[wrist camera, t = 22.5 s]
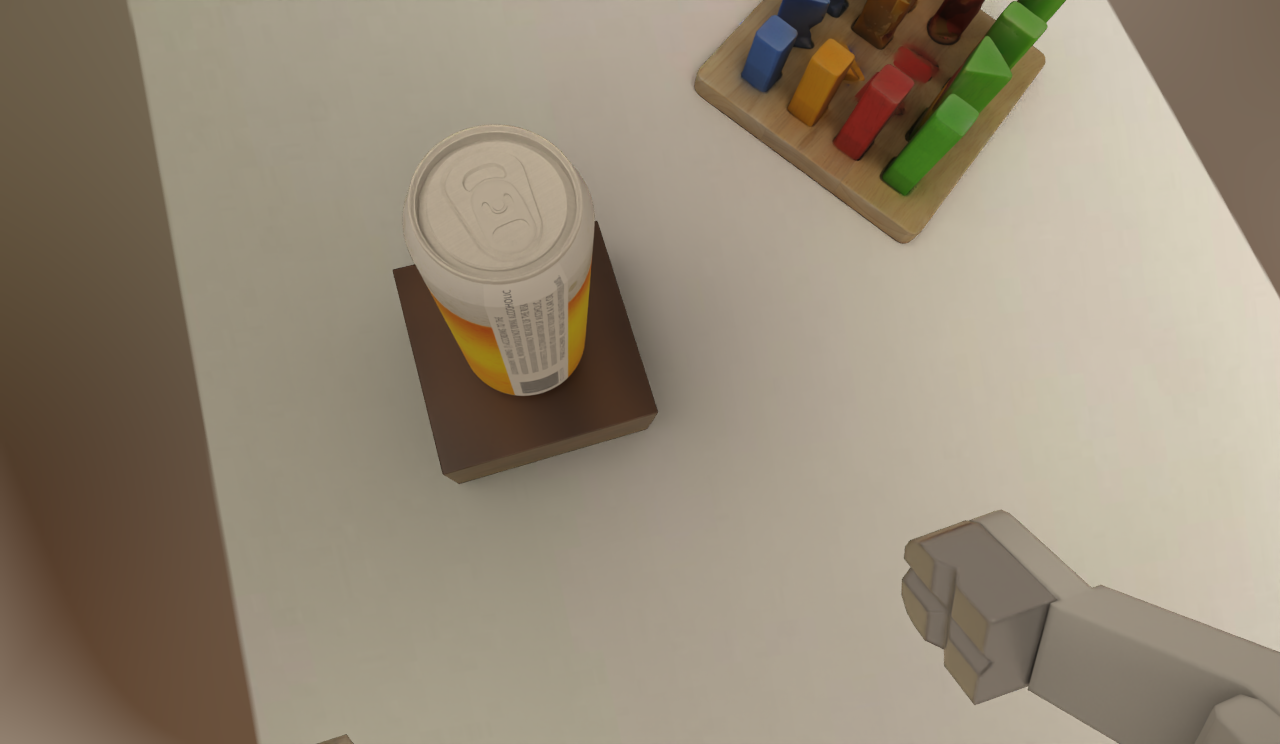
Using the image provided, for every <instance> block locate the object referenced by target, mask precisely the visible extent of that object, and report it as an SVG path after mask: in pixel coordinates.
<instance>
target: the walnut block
mask: <svg viewBox="0 0 1280 744" xmlns="http://www.w3.org/2000/svg"><path fill="white" fill-rule="evenodd" d="M393 274H394V278H395V282H396V286H397V290H398V294H399V298H400V302H401V306H402V310H403V315H404V319H405V323H406V327H407V331H408V335H409V339H410V343H411V347H412V351H413V355H414V359H415V363H416V367H417V371H418V375H419V379H420V383H421V388H422V392H423V396H424V400H425V404H426V408H427V412H428V416H429V420H430V424H431V428H432V432H433V436H434V440H435V444H436V448H437V452H438V457H439V461H440V465H441V469H442V473H443V475H445V476H447V477H448V478H450V479H452V480H453V481H455V482H457V483H458V484H460V483H464V482H467V481H471V480H474V479H478V478H481V477H484V476H488V475H491V474H495V473H498V472H501V471H505V470H508V469H512V468H515V467H519V466H522V465H525V464H529V463H532V462H536V461H539V460H542V459H546V458H549V457H553V456H556V455H560V454H563V453H566V452H570V451H573V450H577V449H580V448H583V447H587V446H590V445H594V444H597V443H601V442H604V441H607V440H611V439H614V438H618V437H621V436H624V435H628V434H631V433H635V432H638V431H642V430H645V429H647V428H648V427H649V425H650V424H651V422H652V421H653V419H654V418H655V416H656V415H657V413H658V410H657V407H656V404H655V401H654V398H653V395H652V391H651V388H650V385H649V382H648V379H647V376H646V373H645V369H644V366H643V363H642V360H641V357H640V354H639V351H638V347H637V344H636V341H635V338H634V335H633V332H632V328H631V325H630V322H629V319H628V316H627V313H626V310H625V306H624V303H623V300H622V297H621V294H620V291H619V288H618V284H617V281H616V278H615V275H614V272H613V269H612V266H611V262H610V259H609V256H608V253H607V250H606V247H605V243H604V240H603V237H602V234H601V231H600V228H599V225H598V222H597V221H595V226H594V239H593V251H592V263H591V276H590V288H589V300H588V313H587V325H586V337H585V346H584V351H583V354H582V357H581V360H580V362H579V364H578V365H577V367H576V369H575V370H574V371H573V373H572V374H571V375H570V376H569V377H568V378H567V379H566V380H565V381H564V382H562V383H561V384H560V385H558V386H557V387H555V388H553V389H551V390H549V391H546V392H544V393H540V394H536V395H530V396H518V395H511V394H506V393H503V392H500V391H498V390H495V389H493V388H492V387H490V386H488V385H487V384H486V383H484V382H483V381H482V380H481V379H480V378H479V377H478V376H477V375H476V374H475V373H474V372H473V370H472V369H471V367H470V365H469V364H468V362H467V360H466V358H465V356H464V354H463V353H462V351H461V349H460V347H459V345H458V343H457V341H456V339H455V338H454V336H453V334H452V332H451V330H450V328H449V326H448V325H447V323H446V321H445V319H444V317H443V315H442V313H441V311H440V310H439V308H438V306H437V304H436V302H435V300H434V298H433V297H432V295H431V293H430V291H429V289H428V287H427V285H426V283H425V282H424V280H423V278H422V276H421V274H420V272H419V270H418V269H417V267H416V265H415V264H414V265H410V266H406V267H402V268H397V269H394V270H393Z"/></svg>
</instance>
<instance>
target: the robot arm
mask: <svg viewBox="0 0 1280 744" xmlns="http://www.w3.org/2000/svg"><path fill="white" fill-rule="evenodd" d="M904 559H905V561H906V562H907V563H908V564H909V566H910V567H911V568H910V569H909V570H908V572H907V573H906V574H905V576H904V577H903V579H902V593H901V595H902V598H903V601H904V605H905V608H906V611H907V614H908V615H909V617H910V619H911V621H912V623H913V625H914V626H915V628H916V629H917V630H918V632H919V633H920V634H921V636H922V637H923V639H924V640H925V641H927V642H929V643H932V644H934V645H936V646H938V647H940V648H942V649H944V666H945V668H946V669H947V670H948V671H949V673H950V674H951V675H952V677H953V678H954V679H955V680H956V682H957V683H958V684H959V686H960V687H961V688H962V690H963V691H964V692H965V693H966V695H967V696H968V697H969V699H970V700H971V701H972V703H973V704H974V705H976V704H979V703H982V702H985V701H988V700H990V699H993V698H996V697H999V696H1002V695H1004V694H1007V693H1010V692H1013V691H1016V690H1019V689H1021V688H1024V687H1027V686H1029V687H1028V690H1029V691H1031V692H1033V693H1034V694H1036V695H1038V696H1039V697H1041V698H1043V699H1044V700H1046V701H1048V702H1050V703H1051V704H1053V705H1055V706H1056V707H1058V708H1060V709H1061V710H1063V711H1065V712H1066V713H1068V714H1070V715H1072V716H1073V717H1075V718H1077V719H1078V720H1080V721H1082V722H1083V723H1085V724H1087V725H1089V726H1090V727H1092V728H1094V729H1095V730H1097V731H1099V732H1100V733H1102V734H1104V735H1106V736H1107V737H1109V738H1111V739H1112V740H1114V741H1116V742H1117V743H1119V744H1280V652H1277V651H1275V650H1272V649H1269V648H1267V647H1264V646H1261V645H1259V644H1256V643H1254V642H1251V641H1248V640H1246V639H1243V638H1240V637H1238V636H1235V635H1232V634H1230V633H1227V632H1224V631H1222V630H1219V629H1216V628H1214V627H1211V626H1209V625H1206V624H1203V623H1201V622H1198V621H1195V620H1193V619H1190V618H1187V617H1185V616H1182V615H1179V614H1177V613H1174V612H1171V611H1169V610H1166V609H1164V608H1161V607H1158V606H1156V605H1153V604H1150V603H1148V602H1145V601H1142V600H1140V599H1137V598H1134V597H1132V596H1129V595H1126V594H1124V593H1121V592H1119V591H1116V590H1113V589H1111V588H1108V587H1105V586H1103V585H1099V586H1096V587H1093V588H1092V587H1091V586H1089V585H1088V584H1087V583H1086V582H1085V581H1084V580H1083V579H1082V578H1081V577H1080V576H1078V575H1077V574H1076V573H1075V572H1074V571H1073V570H1072V569H1071V568H1070V567H1068V566H1067V565H1066V564H1065V563H1064V562H1063V561H1062V560H1061V559H1060V558H1059V557H1057V556H1056V555H1055V554H1054V553H1053V552H1052V551H1051V550H1050V549H1049V548H1048V547H1046V546H1045V545H1044V544H1043V543H1042V542H1041V541H1040V540H1039V539H1038V538H1037V537H1035V536H1034V535H1033V534H1032V533H1031V532H1030V531H1029V530H1028V529H1027V528H1026V527H1024V526H1023V525H1022V524H1021V523H1020V522H1019V521H1018V520H1017V519H1016V518H1014V517H1013V516H1012V515H1011V514H1010V513H1008V512H1005V511H1003V510H997V511H993V512H991V513H988V514H985V515H982V516H980V517H977V518H974V519H972V520H969V521H966V520H965V521H962V522H960V523H957V524H954V525H951V526H949V527H946V528H943V529H940V530H937V531H935V532H932V533H929V534H926V535H924V536H921V537H918V538H915V539H912V540H910V541H909V542H908V544H907V545H906V546H905V553H904ZM317 744H354V743H353V742H352V741H351V739H350V738H349V737H348V735H347V734H345V735H342V736H339V737H336V738H333V739H330V740H327V741H323V742H320V743H317Z"/></svg>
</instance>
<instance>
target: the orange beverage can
mask: <svg viewBox="0 0 1280 744" xmlns="http://www.w3.org/2000/svg"><path fill="white" fill-rule="evenodd" d="M402 222H403V233H404V238H405V242H406V245H407V248H408V251H409V253H410V255H411V257H412V259H413V261H414V263H415V265H416V267H417V269H418V270H419V272H420V274H421V276H422V278H423V280H424V282H425V283H426V285H427V287H428V289H429V291H430V293H431V295H432V297H433V298H434V300H435V302H436V304H437V306H438V308H439V310H440V311H441V313H442V315H443V317H444V319H445V321H446V323H447V325H448V326H449V328H450V330H451V332H452V334H453V336H454V338H455V339H456V341H457V343H458V345H459V347H460V349H461V351H462V353H463V354H464V356H465V358H466V360H467V362H468V364H469V365H470V367H471V369H472V370H473V372H474V373H475V374H476V375H477V376H478V377H479V378H480V379H481V380H482V381H483V382H484V383H486V384H487V385H488V386H490V387H492V388H493V389H495V390H498V391H500V392H503V393H506V394H511V395H518V396H530V395H536V394H540V393H544V392H546V391H549V390H551V389H553V388H555V387H557V386H558V385H560V384H561V383H562V382H564V381H565V380H566V379H567V378H568V377H569V376H570V375H571V374H572V373H573V371H574V370H575V369H576V367H577V365H578V364H579V362H580V360H581V357H582V354H583V351H584V346H585V337H586V325H587V313H588V300H589V288H590V276H591V263H592V251H593V239H594V226H595V215H594V207H593V202H592V198H591V195H590V193H589V190H588V187H587V185H586V184H585V182H584V180H583V178H582V177H581V175H580V174H579V172H578V171H577V170H576V168H575V167H574V166H573V165H572V164H571V163H570V162H569V160H568V159H567V157H566V156H565V155H564V154H563V153H562V152H561V151H560V150H559V149H558V148H557V147H556V146H555V145H554V144H552V143H551V142H549V141H548V140H547V139H545V138H543V137H541V136H540V135H538V134H536V133H533V132H531V131H529V130H526V129H522V128H519V127H514V126H509V125H482V126H476V127H471V128H468V129H465V130H462V131H459V132H457V133H455V134H452V135H451V136H449V137H447V138H445V139H444V140H442V141H441V142H440V143H438V144H437V145H436V146H435V147H433V148H432V149H431V150H430V151H429V152H428V153H427V155H426V156H425V157H424V158H423V159H422V161H421V162H420V164H419V165H418V167H417V169H416V171H415V173H414V175H413V178H412V181H411V183H410V188H409V190H408V193H407V195H406V198H405V203H404V207H403V217H402Z"/></svg>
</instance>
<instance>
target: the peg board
mask: <svg viewBox="0 0 1280 744" xmlns="http://www.w3.org/2000/svg"><path fill="white" fill-rule="evenodd" d="M984 1H985V0H763V1H762V2H761V3H760V4H759V5H758V6H757V7H756V8H755V9H754V10H753V11H752V13H751V14H750V15H749V16H748V17H747V18H746V19H745V20H744V21H743V22H742V23H741V24H740V26H739V27H738V28H737V29H736V30H735V31H734V32H733V33H732V34H731V35H730V36H729V37H728V38H727V40H726V41H725V42H724V43H723V44H722V45H721V46H720V47H719V48H718V49H717V50H716V51H715V52H714V54H713V55H712V56H711V57H710V58H709V59H708V60H707V61H706V62H705V63H704V64H703V65H702V66H701V68H700V69H699V71H698V73H697V77H696V81H695V85H694V86H695V90H696V92H697V93H698V94H699V95H700V96H701V97H702V98H704V99H705V100H706V101H708V102H709V103H710V104H712V105H713V106H715V107H716V108H717V109H719V110H720V111H722V112H723V113H724V114H726V115H727V116H728V117H730V118H731V119H733V120H734V121H735V122H737V123H738V124H739V125H741V126H742V127H743V128H744V129H746V130H747V131H749V132H750V133H751V134H753V135H754V136H755V137H757V138H758V139H760V140H761V141H762V142H764V143H765V144H766V145H768V146H769V147H770V148H772V149H773V150H774V151H776V152H777V153H779V154H780V155H781V156H783V157H784V158H785V159H787V160H788V161H789V162H791V163H792V164H793V165H795V166H796V167H797V168H799V169H800V170H802V171H803V172H804V173H806V174H807V175H808V176H810V177H811V178H812V179H814V180H815V181H816V182H818V183H819V184H821V185H822V186H823V187H825V188H826V189H827V190H829V191H830V192H831V193H833V194H834V195H836V196H837V197H838V198H839V199H841V200H842V201H844V202H845V203H846V204H848V205H849V206H850V207H852V208H853V209H854V210H856V211H857V212H858V213H860V214H861V215H862V216H864V217H865V218H866V219H868V220H869V221H870V222H872V223H873V224H874V225H876V226H877V227H878V228H880V229H881V230H883V231H884V232H885V233H887V234H888V235H889V236H891V237H892V238H894V239H895V240H896V241H898V242H900V243H908V242H910V241H911V240H912V239H913V238H915V237H916V236H917V235H918V234H919V233H920V232H921V230H922V229H923V228H924V226H925V225H926V224H927V223H928V221H929V220H930V218H931V217H932V216H933V214H934V213H935V212H936V210H937V209H938V208H939V206H940V205H941V204H942V202H943V201H944V199H945V198H946V197H947V195H948V194H949V193H950V192H951V190H952V189H953V188H954V186H955V185H956V183H957V182H958V181H959V180H960V178H961V177H962V175H963V174H964V173H965V171H966V170H967V168H968V167H969V166H970V165H971V163H972V162H973V160H974V159H975V158H976V156H977V155H978V154H979V152H980V151H981V150H982V148H983V147H984V146H985V144H986V143H987V142H988V140H989V139H990V138H991V136H992V135H993V133H994V132H995V131H996V129H997V128H998V127H999V125H1000V124H1001V123H1002V121H1003V120H1004V119H1005V117H1006V116H1007V115H1008V114H1009V112H1010V111H1011V110H1012V108H1013V107H1014V105H1015V104H1016V103H1017V101H1018V100H1019V99H1020V97H1021V96H1022V95H1023V93H1024V92H1025V90H1026V89H1027V88H1028V86H1029V85H1030V84H1031V82H1032V81H1033V80H1034V78H1035V77H1036V76H1037V74H1038V73H1039V72H1040V70H1041V69H1042V68H1043V66H1044V65H1045V56H1044V54H1042V53H1041V52H1040V51H1039V50H1038V49H1036V48H1035V47H1034V46H1032V45H1033V44H1034V43H1035V42H1036V41H1037V40H1038V38H1039V37H1040V36H1041V35H1042V34H1043V33H1044V32H1045V30H1046V29H1047V24H1046V22H1047V21H1048V20H1049V19H1050V18H1051V17H1052V16H1053V15H1054V13H1055V12H1056V11H1057V10H1058V9H1059V8H1060V7H1061V5H1062V4H1063V3H1064V2H1065V1H1066V0H1018V1H1013V2H1011V3H1010V4H1009V5H1008V7H1007V8H1006V9H1005V10H1004V11H1003V12H1002V14H1001V15H1000V16H999V17H998V19H997V20H995V19H993V18H992V17H990V16H989V15H988V14H986V13H985V12H983V11H982V10H981V9H980V8H981V6H982V4H983V2H984Z"/></svg>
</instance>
